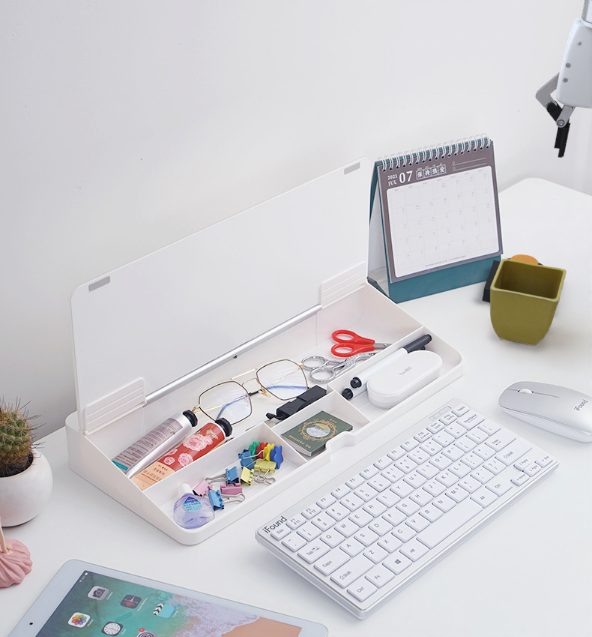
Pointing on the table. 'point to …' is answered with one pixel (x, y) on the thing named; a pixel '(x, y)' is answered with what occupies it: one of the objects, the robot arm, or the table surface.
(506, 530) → the table surface
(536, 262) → the switch button
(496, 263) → the switch
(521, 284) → the flower pot
